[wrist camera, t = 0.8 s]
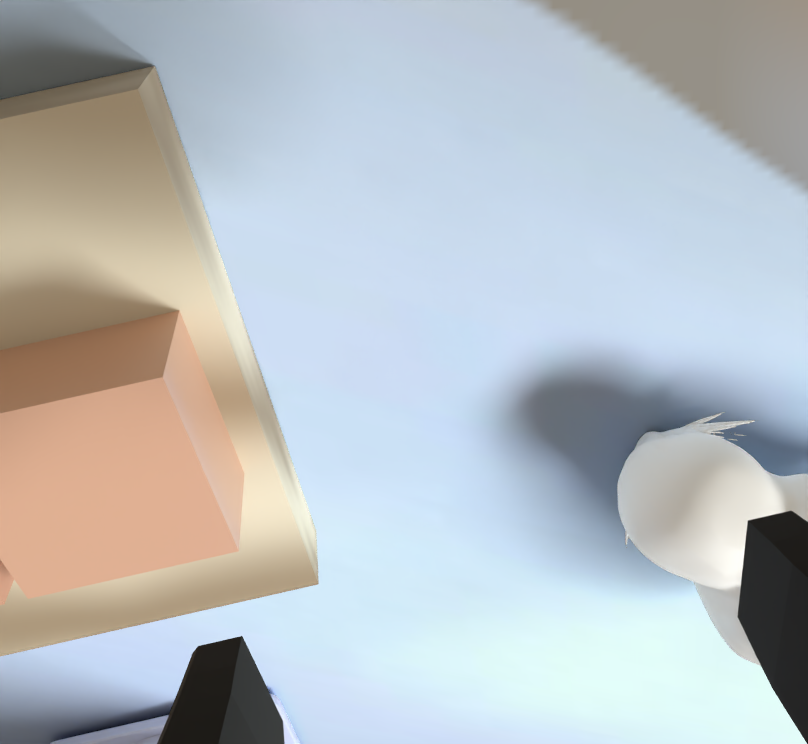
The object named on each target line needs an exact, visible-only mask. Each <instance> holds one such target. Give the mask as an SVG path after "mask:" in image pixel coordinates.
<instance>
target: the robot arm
mask: <svg viewBox="0 0 808 744" xmlns="http://www.w3.org/2000/svg"><path fill="white" fill-rule="evenodd" d="M737 617H738V619H739V621H740V623H741V625H742V627H743V629H744V631H745V634H746V636H747V638H748V640H749V642H750V644H751V646H752V648H753V650H754V652H755V655H756V657H757V659H758V661H759V663H760V664H761V666H762V668H763V670H764V672H765V674H766V676H767V678H768V680H769V682H770V684H771V686H772V688H773V690H774V691H775V693H776V695H777V696H778V698H779V700H780V701H781V703H782V704H783V706H784V708H785V709H786V711H787V712H788V714H789V715H790V717H791V719H792V720H793V722H794V723H795V725H796V727H797V728H798V730H799V731H800V733H801V734H802V736H803V738H804V739H805V741H806V742H807V744H808V522H807V521H806V520H804V519H803V518H802V517H800V516H799V515H797V514H796V513H794V512H793V511H787V512H783V513H778V514H774V515H770V516H765V517H761V518H757V519H752V520H748V523H747V532H746V541H745V551H744V560H743V569H742V579H741V588H740V597H739V607H738V616H737ZM50 744H300V742H299V739H298V737H297V735H296V733H295V731H294V729H293V727H292V725H291V722H290V720H289V718H288V716H287V714H286V712H285V710H284V707H283V705H282V703H281V701H280V699H279V698H278V697H277V696H275V695H273V694H270V693H269V691H268V689H267V687H266V685H265V683H264V681H263V678H262V676H261V674H260V672H259V670H258V668H257V666H256V664H255V662H254V660H253V658H252V656H251V654H250V652H249V649H248V647H247V645H246V643H245V641H244V639H243V637H242V636H241V637H236V638H232V639H228V640H223V641H219V642H215V643H210V644H206V645H201V646H198V647H197V648H196V650H195V651H194V652H193V654H192V657H191V659H190V662H189V664H188V667H187V670H186V672H185V675H184V678H183V680H182V683H181V685H180V688H179V691H178V693H177V696H176V698H175V701H174V703H173V706H172V708H171V711H170V713H169V715H166V716H162V717H157V718H153V719H149V720H144V721H140V722H135V723H131V724H127V725H122V726H118V727H114V728H109V729H105V730H100V731H96V732H92V733H87V734H83V735H78V736H74V737H70V738H65V739H61V740H57V741H54V742H52V743H50Z"/></svg>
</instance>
